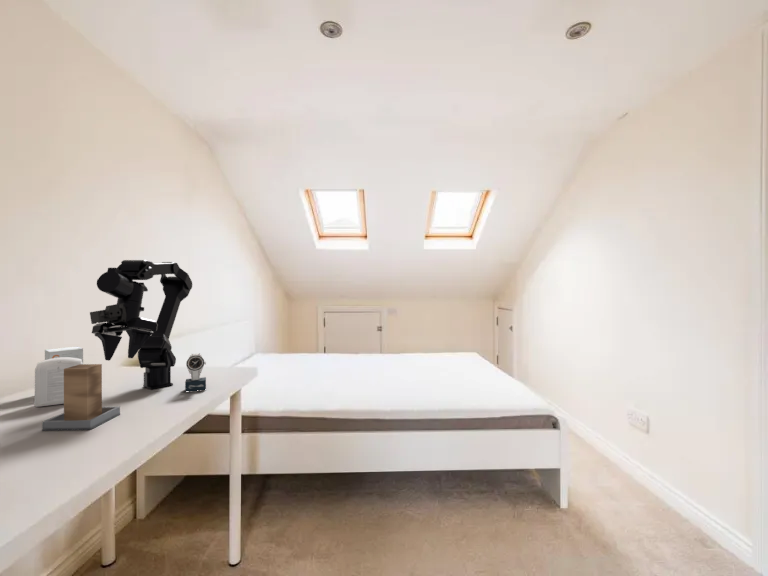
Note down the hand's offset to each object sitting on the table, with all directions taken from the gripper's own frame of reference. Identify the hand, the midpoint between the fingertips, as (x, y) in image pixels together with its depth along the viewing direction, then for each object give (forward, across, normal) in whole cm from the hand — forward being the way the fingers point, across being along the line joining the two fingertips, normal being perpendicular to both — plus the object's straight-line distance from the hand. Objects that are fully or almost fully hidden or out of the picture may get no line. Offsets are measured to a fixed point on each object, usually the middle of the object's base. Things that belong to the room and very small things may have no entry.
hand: (118, 359), depth 103 cm
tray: (+16, +4, -8) cm, 18 cm away
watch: (+8, +5, +22) cm, 23 cm away
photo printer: (+11, -18, -2) cm, 21 cm away
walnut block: (+15, +4, -8) cm, 18 cm away
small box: (+8, -29, +4) cm, 31 cm away
